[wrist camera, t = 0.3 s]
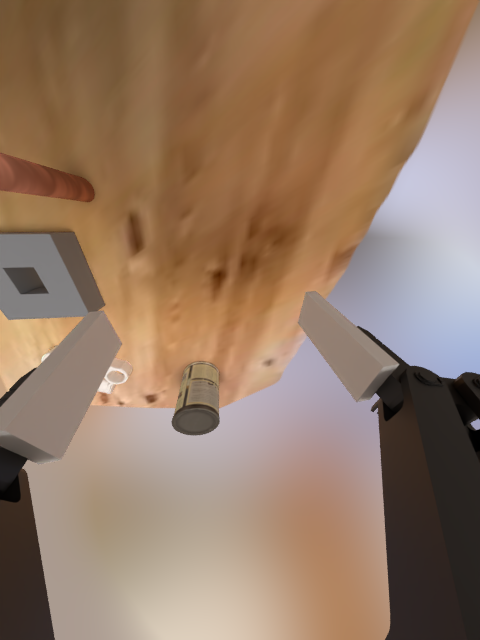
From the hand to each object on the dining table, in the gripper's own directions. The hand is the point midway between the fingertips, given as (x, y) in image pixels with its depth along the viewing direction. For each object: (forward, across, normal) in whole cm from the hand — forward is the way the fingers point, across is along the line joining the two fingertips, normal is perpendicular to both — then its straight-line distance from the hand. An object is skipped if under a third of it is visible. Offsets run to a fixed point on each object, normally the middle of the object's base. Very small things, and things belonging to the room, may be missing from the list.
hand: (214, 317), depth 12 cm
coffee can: (+23, -6, -36) cm, 43 cm away
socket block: (+28, -30, -5) cm, 41 cm away
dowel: (+28, -18, +7) cm, 35 cm away
